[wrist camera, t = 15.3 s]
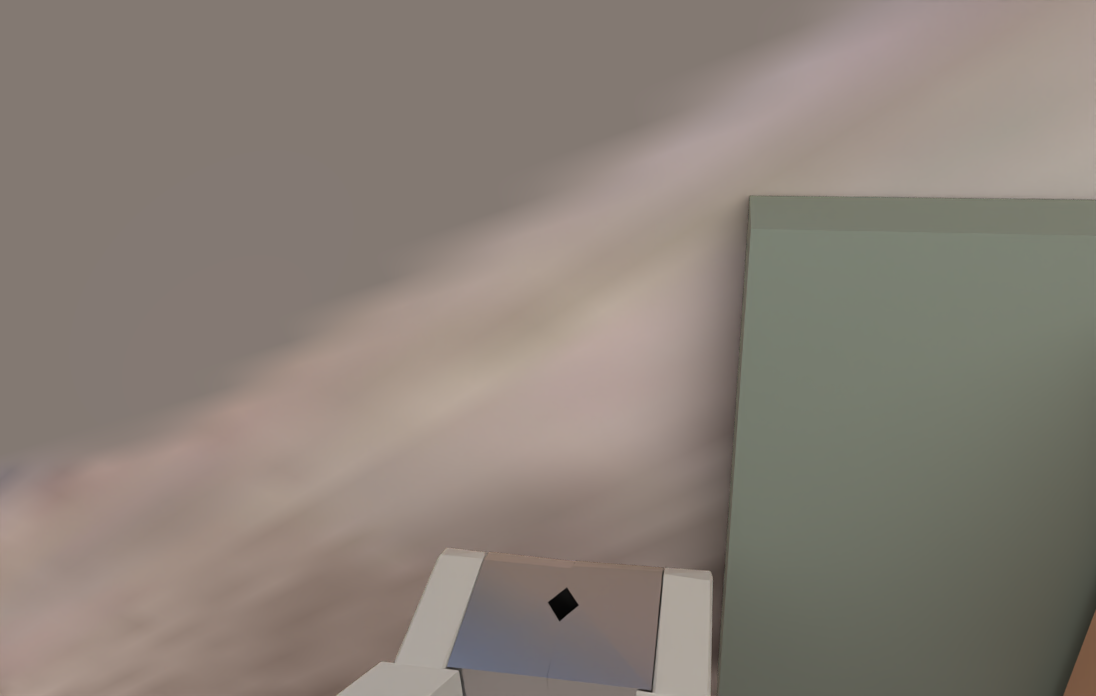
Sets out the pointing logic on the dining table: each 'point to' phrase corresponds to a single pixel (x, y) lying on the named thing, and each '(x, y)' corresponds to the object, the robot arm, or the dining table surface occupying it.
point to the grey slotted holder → (912, 449)
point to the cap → (1085, 666)
